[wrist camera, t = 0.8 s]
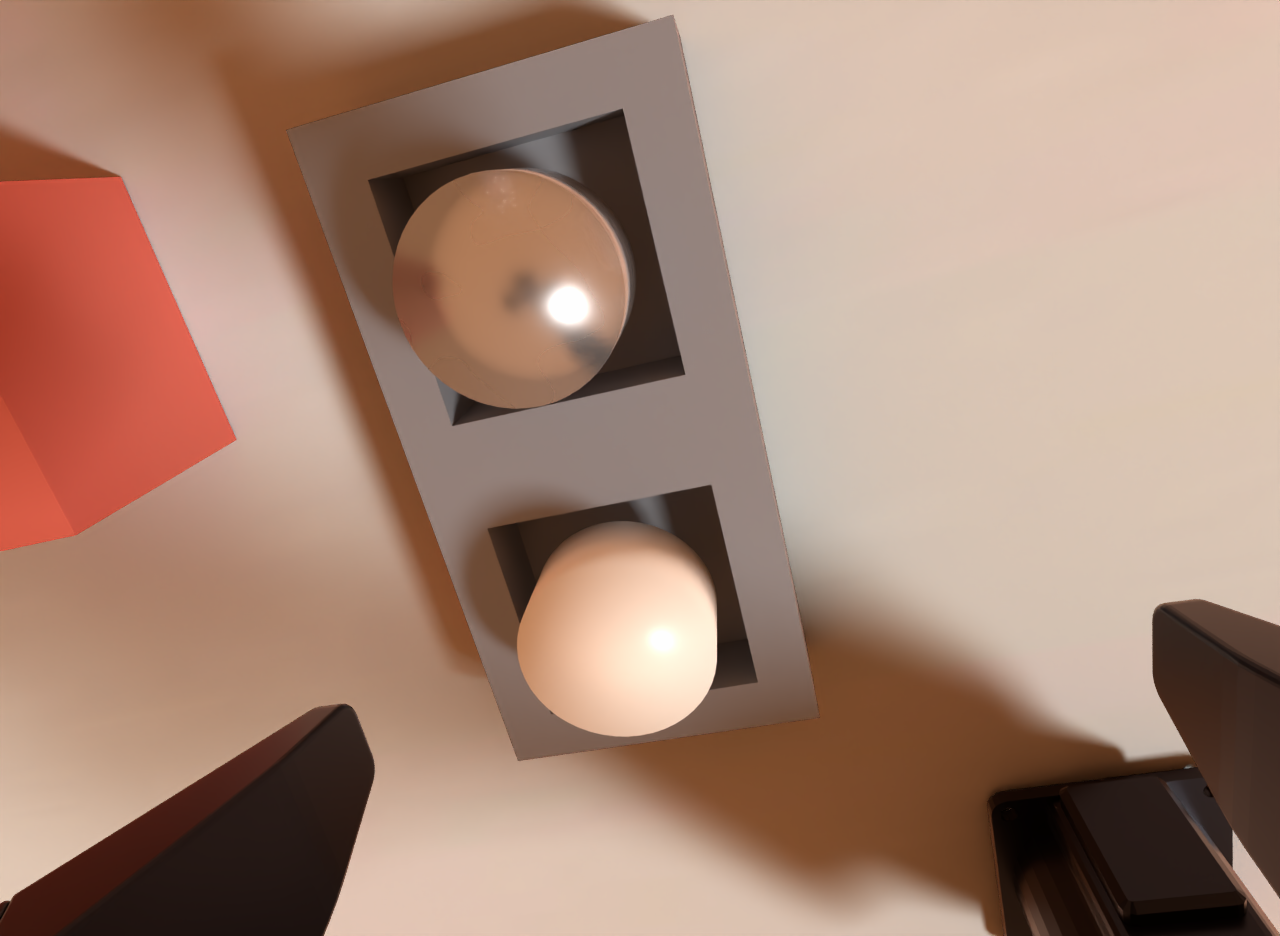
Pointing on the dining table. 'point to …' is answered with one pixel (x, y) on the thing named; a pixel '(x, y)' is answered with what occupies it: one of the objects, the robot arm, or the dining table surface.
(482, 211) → the chrome round knob
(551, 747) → the switch box
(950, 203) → the dining table surface
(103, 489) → the cap
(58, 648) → the dining table surface
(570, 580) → the cream switch
